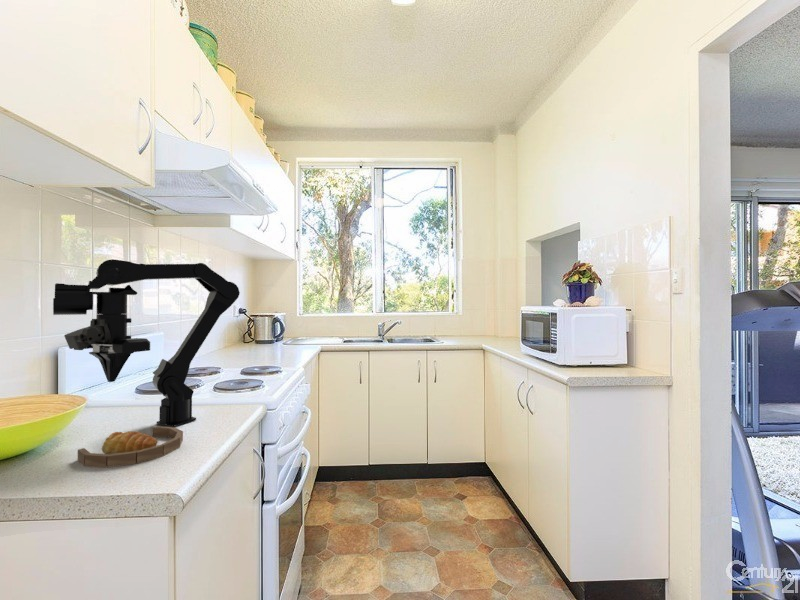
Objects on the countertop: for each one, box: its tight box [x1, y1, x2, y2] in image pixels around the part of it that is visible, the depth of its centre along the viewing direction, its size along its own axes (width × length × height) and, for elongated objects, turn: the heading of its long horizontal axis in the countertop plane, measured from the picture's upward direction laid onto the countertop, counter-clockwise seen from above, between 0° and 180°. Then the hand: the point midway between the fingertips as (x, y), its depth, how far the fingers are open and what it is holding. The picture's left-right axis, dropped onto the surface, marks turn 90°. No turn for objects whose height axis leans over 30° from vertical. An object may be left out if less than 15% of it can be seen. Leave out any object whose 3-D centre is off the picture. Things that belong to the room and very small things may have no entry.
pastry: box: [101, 431, 158, 454], centre depth 79 cm, size 9×7×4 cm
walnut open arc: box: [77, 425, 184, 468], centre depth 79 cm, size 18×13×2 cm
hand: (111, 381), depth 90 cm, fingers closed
